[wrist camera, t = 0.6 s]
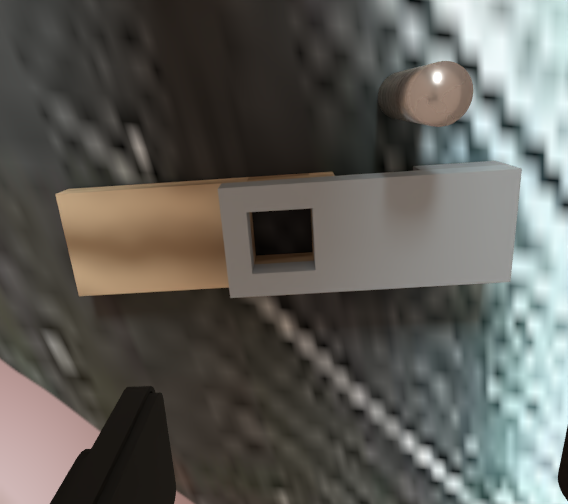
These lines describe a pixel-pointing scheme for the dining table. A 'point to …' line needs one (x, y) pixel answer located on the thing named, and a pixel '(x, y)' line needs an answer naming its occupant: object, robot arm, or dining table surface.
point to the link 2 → (380, 229)
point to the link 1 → (153, 236)
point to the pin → (427, 94)
